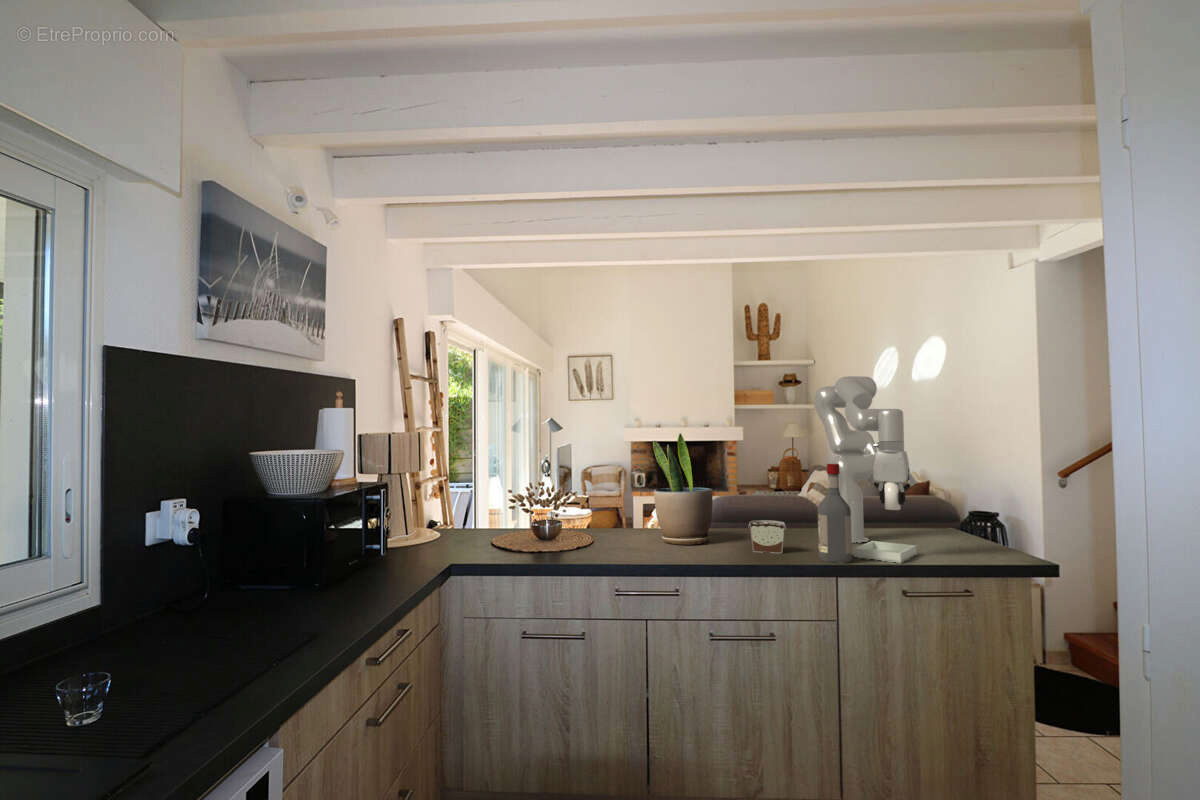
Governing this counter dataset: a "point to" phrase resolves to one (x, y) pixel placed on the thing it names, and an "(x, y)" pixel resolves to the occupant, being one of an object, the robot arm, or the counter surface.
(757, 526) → the food container
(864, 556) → the tray
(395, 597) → the counter surface
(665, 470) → the potted plant
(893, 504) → the shaker
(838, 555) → the liquor
